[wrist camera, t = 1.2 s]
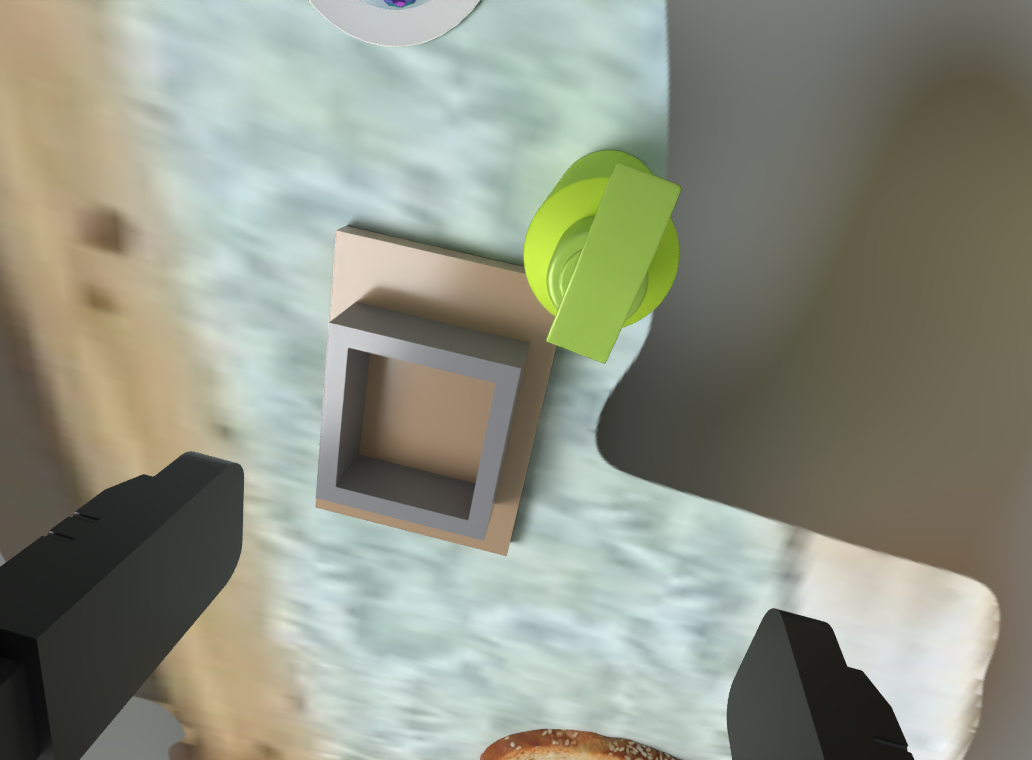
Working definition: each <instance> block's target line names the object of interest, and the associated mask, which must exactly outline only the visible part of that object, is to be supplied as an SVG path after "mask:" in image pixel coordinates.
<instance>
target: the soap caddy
mask: <svg viewBox="0 0 1032 760" xmlns="http://www.w3.org/2000/svg"><path fill="white" fill-rule="evenodd" d="M554 318H555V316H553V315H552V314H551V313H550V312H549V311H547V310H546V309H545V308H544V307H543V305H542V304H541V303H540V302H539V301H538V299H537V298H536V296H535V295H534V293H533V291H532V289H531V287H530V285H529V283H528V280H527V277H526V273H525V268H524V267H523V266H519V265H514V264H510V263H506V262H501V261H497V260H493V259H488V258H484V257H480V256H475V255H471V254H466V253H462V252H458V251H453V250H449V249H445V248H440V247H436V246H432V245H427V244H423V243H419V242H414V241H410V240H406V239H401V238H397V237H393V236H388V235H384V234H379V233H375V232H371V231H366V230H362V229H358V228H353V227H349V226H345V227H343V228H340V229H338V230H336V240H335V254H334V267H333V281H332V294H331V308H330V321H329V328H328V341H327V355H326V368H325V382H324V395H323V409H322V422H321V436H320V449H319V463H318V476H317V490H316V508H320V509H324V510H328V511H332V512H336V513H340V514H344V515H348V516H352V517H355V518H359V519H363V520H367V521H371V522H375V523H379V524H383V525H387V526H391V527H395V528H398V529H402V530H406V531H410V532H414V533H418V534H422V535H426V536H430V537H434V538H438V539H442V540H445V541H449V542H453V543H457V544H461V545H465V546H469V547H473V548H477V549H481V550H485V551H488V552H492V553H496V554H500V555H504V556H507V552H508V548H509V544H510V540H511V536H512V532H513V528H514V523H515V519H516V515H517V511H518V506H519V502H520V498H521V494H522V490H523V485H524V481H525V477H526V473H527V468H528V464H529V460H530V456H531V452H532V447H533V443H534V439H535V435H536V430H537V426H538V422H539V418H540V414H541V409H542V405H543V401H544V397H545V392H546V388H547V384H548V380H549V376H550V371H551V367H552V363H553V359H554V354H555V350H556V346H557V345H554V344H552V343H549V342H547V341H546V339H547V336H548V333H549V330H550V328H551V325H552V323H553V320H554Z"/></svg>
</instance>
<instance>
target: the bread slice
mask: <svg viewBox="0 0 1032 760" xmlns="http://www.w3.org/2000/svg"><path fill="white" fill-rule="evenodd" d="M480 760H679V759H676V758H674V757H672V756H670V755H668V754H667V753H664V752H661V751H658V750H656V749H653V748H651V747H648V746H646V745H642V744H639V743H637V742H635V741H632V740H627V739H619V738H610V737H605V736H602V735H599V734H597V733H593V732H585V731H577V730H560V729H540V730H532V731H526V732H521V733H516V734H512V735H509V736H506V737H504V738H502V739H500V740H498V741H496V742H495V743H493V744H492V745H490V746H489V747H488V748H487V749H486V750H485V752H484V753H483V754H482V755H481V757H480Z"/></svg>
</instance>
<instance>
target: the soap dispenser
mask: <svg viewBox="0 0 1032 760" xmlns="http://www.w3.org/2000/svg"><path fill="white" fill-rule="evenodd" d="M680 192H681V186H680V185H678V184H675V183H673V182H670V181H668V180H665V179H662V178H660V177H657V176H655V175H653V174H652V173H651V171H650V170H649V169H648V168H647V166H646V165H645V164H644V163H642V162H641V161H640V160H639V159H637V158H636V157H634V156H632V155H630V154H627V153H624V152H621V151H615V150H604V151H598V152H594V153H591V154H588V155H586V156H584V157H582V158H581V159H579V160H578V161H576V162H575V163H574V164H573V165H572V166H571V167H570V168H569V169H568V170H567V171H566V172H565V174H564V175H563V177H562V178H561V179H560V181H559V182H558V184H557V185H556V186H555V188H554V189H553V190H552V192H551V193H550V195H549V196H548V197H547V199H546V200H545V201H544V203H543V204H542V206H541V207H540V208H539V210H538V211H537V213H536V214H535V216H534V218H533V219H532V221H531V223H530V226H529V228H528V231H527V234H526V238H525V243H524V253H523V258H524V268H525V273H526V277H527V280H528V283H529V285H530V287H531V289H532V291H533V293H534V295H535V296H536V298H537V299H538V301H539V302H540V303H541V304H542V305H543V307H544V308H545V309H546V310H547V311H549V312H550V313H551V314H552V315H553V316H555V318H554V320H553V323H552V325H551V328H550V330H549V333H548V336H547V339H546V341H547V342H549V343H552V344H554V345H557V346H560V347H562V348H565V349H567V350H570V351H573V352H575V353H578V354H580V355H583V356H586V357H588V358H591V359H594V360H596V361H599V362H601V363H604V364H605V363H606V361H607V359H608V357H609V355H610V352H611V350H612V348H613V346H614V344H615V342H616V339H617V337H618V335H619V333H620V331H621V329H622V328H623V327H626V326H629V325H631V324H633V323H635V322H637V321H639V320H641V319H642V318H644V317H645V316H647V315H648V314H649V313H651V312H652V311H653V310H654V309H655V308H656V307H657V306H658V305H659V304H660V303H661V302H662V300H663V299H664V298H665V296H666V295H667V293H668V292H669V290H670V288H671V286H672V284H673V281H674V279H675V276H676V273H677V269H678V263H679V242H678V237H677V233H676V229H675V226H674V224H673V221H672V219H671V214H672V212H673V210H674V207H675V205H676V202H677V200H678V197H679V194H680Z"/></svg>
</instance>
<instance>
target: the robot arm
mask: <svg viewBox="0 0 1032 760" xmlns="http://www.w3.org/2000/svg"><path fill="white" fill-rule="evenodd" d="M243 498H244V472H243V469H242V467H241V465H240V464H238V463H234V462H231V461H227V460H223V459H219V458H216V457H212V456H208V455H204V454H201V453H197V452H192V451H190V452H186V453H184V454H182V455H181V456H180V457H178V458H177V459H176V460H175V461H173V462H172V463H171V464H169V465H168V466H167V467H166V468H164V469H163V470H162V471H161V472H159V473H158V474H157V475H155V476H154V477H152V476H148V475H145V474H143V475H140V476H138V477H135V478H133V479H130V480H128V481H125V482H123V483H120V484H118V485H115V486H113V487H110V488H108V489H105V490H104V491H102V492H101V493H100V494H98V495H97V496H96V497H94V498H93V499H92V500H90V501H89V502H88V503H86V504H85V505H83V506H82V507H81V508H79V509H78V510H77V511H75V513H74V516H73V517H67V518H66V519H64V520H63V521H62V522H60V523H59V524H58V525H56V526H55V527H54V528H52V529H51V530H50V531H49V533H48V535H47V536H46V537H45V536H41V537H40V538H39V539H37V540H36V541H35V542H33V543H32V544H31V545H29V546H28V547H26V548H25V549H24V550H22V551H21V552H20V553H18V554H17V555H16V556H14V557H13V558H12V559H10V560H9V561H8V562H6V563H5V564H3V565H2V566H1V567H0V760H80V758H81V757H82V756H83V755H84V754H85V752H86V751H87V750H88V749H89V748H90V746H91V745H92V744H93V743H94V742H95V741H96V739H97V738H98V737H99V736H100V734H101V733H102V732H103V731H104V730H105V729H106V727H107V726H108V725H109V724H110V723H111V721H112V720H113V719H114V718H115V717H116V715H117V714H118V713H119V712H120V711H121V709H122V708H123V707H124V706H125V705H126V703H127V702H128V701H129V700H130V699H131V698H132V696H133V695H134V694H135V693H136V692H137V690H138V689H139V688H140V687H141V686H142V684H143V683H144V682H145V681H146V680H147V678H148V677H149V676H150V675H151V674H152V672H153V671H154V670H155V669H156V668H157V666H158V665H159V664H160V663H161V662H162V661H163V659H164V658H165V657H166V656H167V655H168V653H169V652H170V651H171V650H172V649H173V647H174V646H175V645H176V644H177V643H178V641H179V640H180V639H181V638H182V637H183V635H184V634H185V633H186V632H187V631H188V629H189V628H190V627H191V626H192V625H193V623H194V622H195V621H196V620H197V619H198V618H199V616H200V615H201V614H202V613H203V612H204V610H205V609H206V608H207V607H208V606H209V604H210V603H211V602H212V601H213V600H214V598H215V597H216V596H217V595H218V594H219V592H220V591H221V590H222V589H223V588H224V586H225V585H226V584H227V582H228V581H229V579H230V578H231V576H232V574H233V572H234V570H235V568H236V566H237V563H238V560H239V557H240V554H241V549H242V536H243ZM727 729H728V735H729V742H730V748H731V755H732V760H914V758H913V756H912V753H910V752H908V751H907V746H908V744H907V742H906V739H905V737H904V735H903V733H902V730H901V728H900V726H899V723H898V721H897V719H896V716H895V714H894V712H893V709H892V707H891V706H890V705H889V703H888V702H887V701H886V700H885V698H884V697H883V696H882V695H881V693H880V692H879V691H878V690H877V688H876V687H875V686H874V685H873V683H872V682H871V681H870V680H869V678H868V677H867V676H866V675H865V674H864V672H863V671H861V670H858V669H854V668H850V667H847V665H846V662H845V659H844V657H843V654H842V652H841V649H840V647H839V644H838V641H837V639H836V636H835V634H834V631H833V629H832V628H831V626H830V625H829V624H828V623H826V622H824V621H820V620H816V619H812V618H809V617H805V616H801V615H797V614H794V613H790V612H786V611H782V610H779V609H775V608H773V609H770V610H769V611H768V612H767V613H766V614H765V616H764V617H763V619H762V621H761V623H760V625H759V628H758V630H757V632H756V634H755V636H754V638H753V640H752V642H751V644H750V646H749V648H748V651H747V653H746V655H745V657H744V659H743V661H742V663H741V665H740V667H739V669H738V672H737V674H736V676H735V678H734V680H733V683H732V685H731V689H730V693H729V698H728V705H727Z"/></svg>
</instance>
